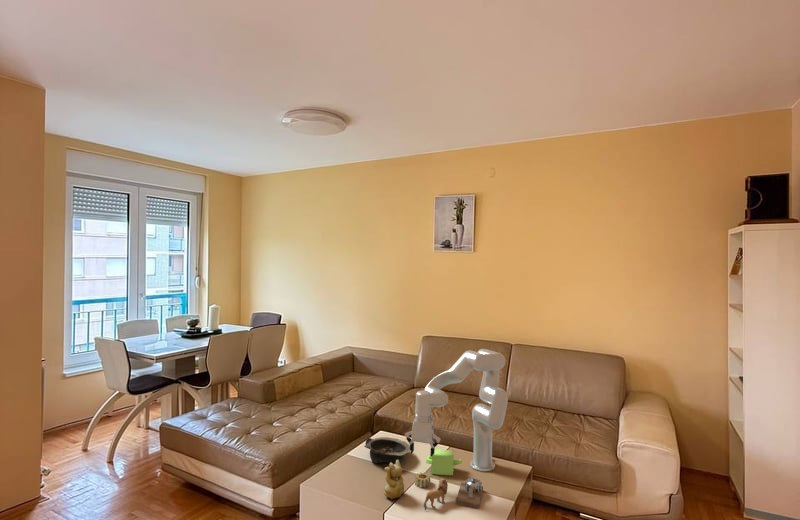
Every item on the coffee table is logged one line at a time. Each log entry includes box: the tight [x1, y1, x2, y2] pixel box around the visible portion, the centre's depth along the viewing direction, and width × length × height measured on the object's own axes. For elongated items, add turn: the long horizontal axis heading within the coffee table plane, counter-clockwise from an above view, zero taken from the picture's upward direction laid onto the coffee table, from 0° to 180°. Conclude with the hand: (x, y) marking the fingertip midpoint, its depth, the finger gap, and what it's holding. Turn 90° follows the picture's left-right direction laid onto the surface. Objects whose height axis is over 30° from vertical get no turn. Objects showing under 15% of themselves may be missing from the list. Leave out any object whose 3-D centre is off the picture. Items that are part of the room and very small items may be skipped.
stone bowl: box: [363, 436, 411, 465], centre depth 226 cm, size 25×25×9 cm
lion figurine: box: [423, 478, 449, 511], centre depth 184 cm, size 15×5×9 cm, turn 138°
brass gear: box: [414, 472, 431, 489], centre depth 200 cm, size 7×7×4 cm
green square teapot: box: [425, 448, 463, 476], centre depth 214 cm, size 18×10×10 cm, turn 84°
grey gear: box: [464, 477, 483, 493], centre depth 193 cm, size 7×7×4 cm
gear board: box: [455, 482, 484, 509], centre depth 190 cm, size 15×10×6 cm, turn 162°
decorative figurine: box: [383, 460, 405, 501], centre depth 190 cm, size 10×8×15 cm
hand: (422, 453), depth 200 cm, fingers open, 9 cm apart
